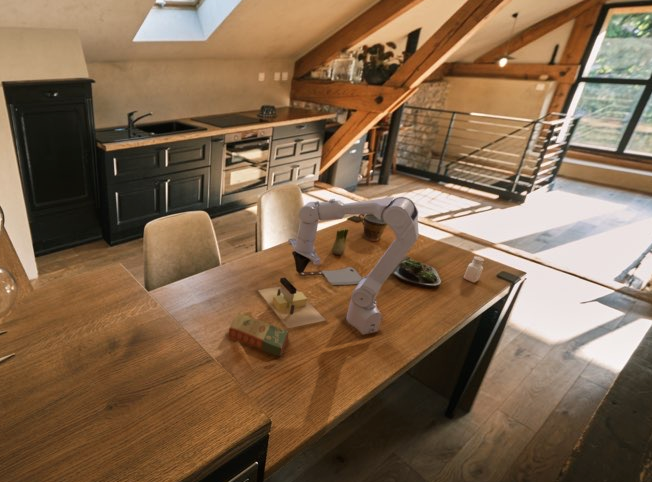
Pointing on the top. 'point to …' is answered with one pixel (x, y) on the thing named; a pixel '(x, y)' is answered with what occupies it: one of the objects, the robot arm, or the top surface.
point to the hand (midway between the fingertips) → (299, 271)
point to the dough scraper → (287, 289)
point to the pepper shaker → (474, 269)
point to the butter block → (297, 300)
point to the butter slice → (279, 303)
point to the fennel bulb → (340, 242)
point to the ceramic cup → (373, 227)
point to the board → (292, 310)
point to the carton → (258, 334)
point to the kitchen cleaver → (338, 276)
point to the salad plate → (416, 273)
